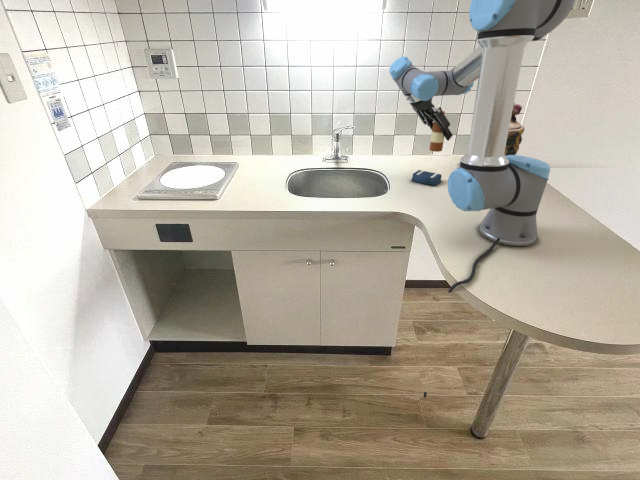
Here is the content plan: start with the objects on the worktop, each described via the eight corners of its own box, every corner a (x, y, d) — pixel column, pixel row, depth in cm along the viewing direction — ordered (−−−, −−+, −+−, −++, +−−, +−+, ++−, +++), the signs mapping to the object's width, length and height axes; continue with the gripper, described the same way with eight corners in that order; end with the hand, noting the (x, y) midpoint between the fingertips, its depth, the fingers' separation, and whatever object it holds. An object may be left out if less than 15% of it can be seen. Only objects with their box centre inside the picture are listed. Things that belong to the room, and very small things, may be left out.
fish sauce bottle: (439, 152, 139) (445, 113, 132) (427, 150, 142) (432, 111, 135) (444, 149, 143) (450, 111, 135) (432, 147, 145) (437, 109, 138)
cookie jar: (459, 180, 146) (475, 98, 130) (458, 162, 166) (471, 90, 151) (524, 185, 139) (549, 100, 124) (515, 167, 160) (535, 92, 144)
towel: (433, 187, 139) (434, 179, 138) (410, 182, 145) (411, 174, 143) (440, 181, 145) (441, 174, 143) (417, 177, 150) (418, 169, 148)
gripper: (396, 101, 134) (423, 139, 149) (429, 107, 120) (455, 148, 135) (408, 85, 133) (434, 124, 148) (443, 90, 119) (468, 133, 134)
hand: (444, 136), depth 141 cm, fingers closed on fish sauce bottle, 5 cm apart
